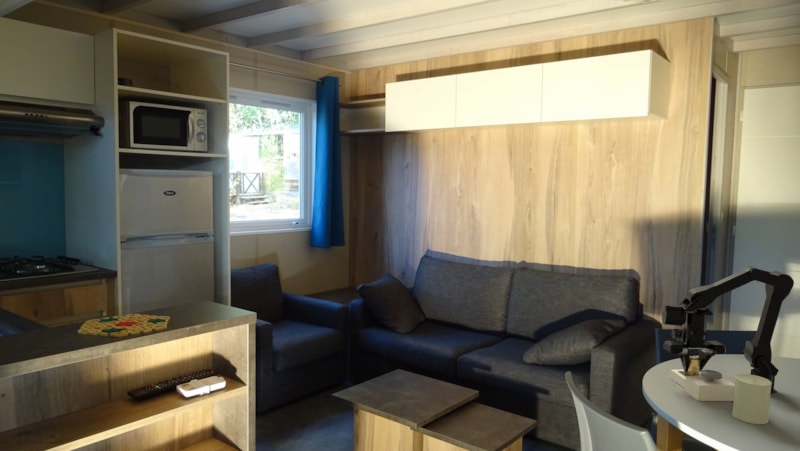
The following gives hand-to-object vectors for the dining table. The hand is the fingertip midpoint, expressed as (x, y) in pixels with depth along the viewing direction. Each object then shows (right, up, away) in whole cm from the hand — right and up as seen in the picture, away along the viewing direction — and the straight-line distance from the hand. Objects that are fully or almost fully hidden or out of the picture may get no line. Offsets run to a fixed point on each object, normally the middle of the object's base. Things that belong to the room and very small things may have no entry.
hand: (692, 371), depth 198 cm
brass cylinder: (0, -1, 0) cm, 1 cm away
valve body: (0, -5, -5) cm, 6 cm away
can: (+4, -7, -26) cm, 27 cm away
